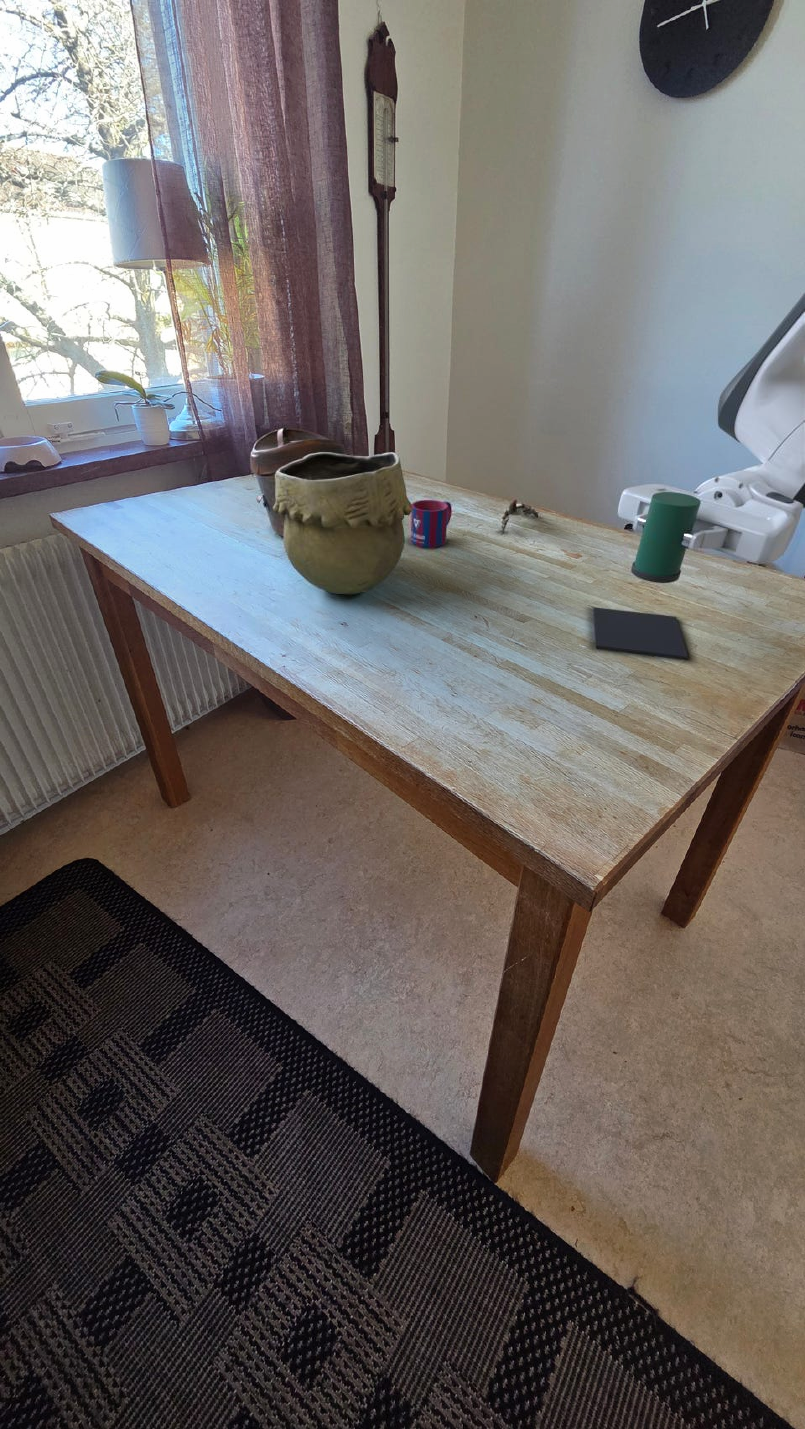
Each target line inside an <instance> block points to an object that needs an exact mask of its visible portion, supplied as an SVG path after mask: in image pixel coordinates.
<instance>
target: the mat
mask: <svg viewBox="0 0 805 1429" xmlns="http://www.w3.org/2000/svg"><path fill="white" fill-rule="evenodd" d="M592 613H593V614H592V618H593V631H594V633H593V634H594V648H595V649H598V650H606V651H613V652H614V651H615V652H622V653H629V654H637V655H638V654H639V655H644V656H646V655H647V656H652V657H661V658H669V659H677V660H686V661H687V660H688V658H689V656H688V654H689V653H688V651H687V648H686V644H685V642H684V639H683V638H684V637H683V635H682V631H681V628H680V625H679V622H678V618H677V616H673V615H664V614H656V613H655V614H654V613H648V612H637V611H629V610H621V609H612V608H603V607H593V609H592Z"/></svg>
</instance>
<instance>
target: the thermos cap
mask: <svg viewBox="0 0 805 1429" xmlns="http://www.w3.org/2000/svg"><path fill="white" fill-rule="evenodd" d="M700 504H701V501H700V500H699V499H698V498H696V497H693V496H691V495H687V494H683V493H676V492H660V493H656V494H654V495H653V496H652V499H651V503H650V506H649V510H648V514H647V518H646V522H645V525H644V529H643V533H642V532H641V537H640V540H639V544H638V548H637V553H636V555H635V560H634V561H633V562H632V564H631V568H630V572H631V573H632V575H634V576H635V577H637V578H639V579H640V580H643V581H646V582H651V583H656V584H671V583H674V582H677V581H678V580H679V579H680V578H681V577H680V576H681V572H682V570H681V567H682V564H683V561H684V557H685V554H686V551H687V548H685V547H682V546H681V542H682V541H683V536H684V534H685V532H687V531H690V530H692V529H693V526H694V523H695V520H696V516H697V513H698V510H699V507H700Z"/></svg>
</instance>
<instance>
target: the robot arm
mask: <svg viewBox="0 0 805 1429" xmlns="http://www.w3.org/2000/svg"><path fill="white" fill-rule="evenodd" d="M717 426H718V428H719V429H720V430H722V431H723V432H724V433H726V434H727V435H728V436H730V437H731V438H732V439H734V440H735V441H736V442H738V443H740V444H741V445H743V447H745V448H746V449H747V450H748V451H749V452H750V453H751V454H752V455H753V456H755V458H756V459H758V461H760V462H761V463H762V464H757V465H753V466H750V467H748V468H744V469H743V470H738V471H732V472H729V473H726V474H722V475H719V476H716V477H713V478H709V479H708V480H706V481H704V482H702V484H699V486H698V487H697V488H696V489H695V490H694V491H690V490H689V491H688V490H686V489H682V488H679V487H675V486H671V485H667V484H661V483H651V484H650V483H649V484H641V485H636V486H631V487H627V488H625V489H624V490H623V491H622V493H621V494H620V498H619V503H618V507H617V515H618V517H619V518H620V519H621V520H625V521H628V522H631V523H632V530H633V531H636V532H638V533H641V534H642V533H643V529H644V525H645V522H646V518H647V514H648V510H649V506H650V503H651V499H652V496H653V495H654V494H656V493H660V492H676V493H683V494H687V495H691V496H693V497H696V498H698V499H699V500H700V501H701V504H700V507H699V510H698V513H697V516H696V520H695V523H694V526H693V529H692V530H690V531H687V532H685V534H684V536H683V541H682V542H681V546H682V547H685V548H686V550H690V551H695V550H698V549H711V550H713V551H716V552H720V553H723V554H726V555H729V556H732V557H735V558H738V559H741V560H744V561H747V562H749V563H752V564H756V565H769V564H772V563H773V562H775V561H778V560H779V559H780V557H782V556H784V554H785V552H786V551H787V549H788V548H789V545H790V543H791V541H792V539H793V537H794V535H795V533H796V530H797V528H798V525H799V522H800V519H801V516H802V513H803V510H804V509H805V292H804V293H803V294H802V296H801V297H800V298H799V299H798V301H797V302H796V303H795V304H794V306H792V308H791V309H790V311H789V312H788V313H787V314H786V316H785V317H784V318H783V319H782V321H781V322H780V323H779V325H778V326H777V327H776V328H775V329H774V331H773V332H772V334H770V336H769V337H768V338H767V340H766V341H765V342H764V343H763V344H762V346H761V347H760V348H759V349H758V351H757V352H756V353H755V354H754V355H753V356H752V357H751V358H750V360H749V361H748V362H747V363H746V364H745V365H744V366H743V367H742V368H741V369H740V370H739V371H738V373H736V375H734V377H732V379H731V380H730V381H729V383H728V384H727V385H726V386H725V387H724V389H723V390H722V392H721V393H720V396H719V398H718V405H717Z"/></svg>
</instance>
